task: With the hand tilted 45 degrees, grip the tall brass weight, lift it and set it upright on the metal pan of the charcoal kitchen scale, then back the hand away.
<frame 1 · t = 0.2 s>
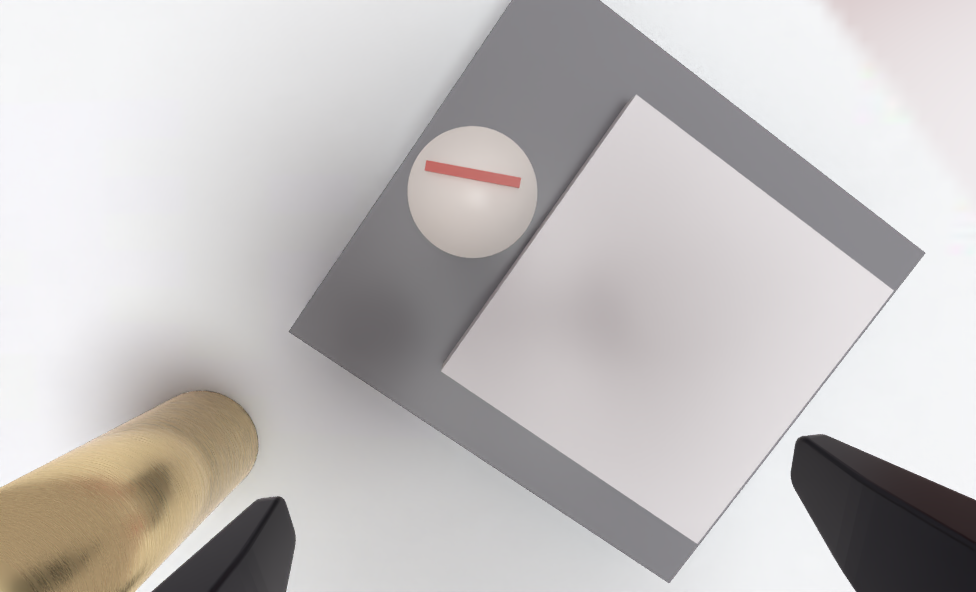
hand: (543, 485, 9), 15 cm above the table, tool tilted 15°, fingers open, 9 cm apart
brass weight: (203, 442, 24), on the table
scale: (593, 285, 24), on the table
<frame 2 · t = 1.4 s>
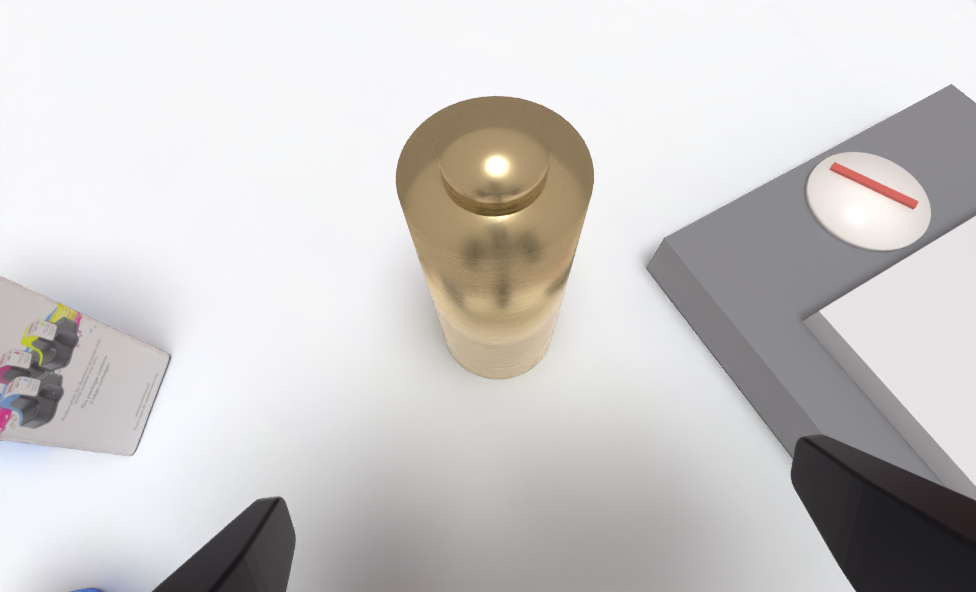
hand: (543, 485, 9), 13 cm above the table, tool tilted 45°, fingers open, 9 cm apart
brass weight: (498, 326, 24), on the table
ink box: (75, 393, 24), on the table
scale: (935, 349, 23), on the table
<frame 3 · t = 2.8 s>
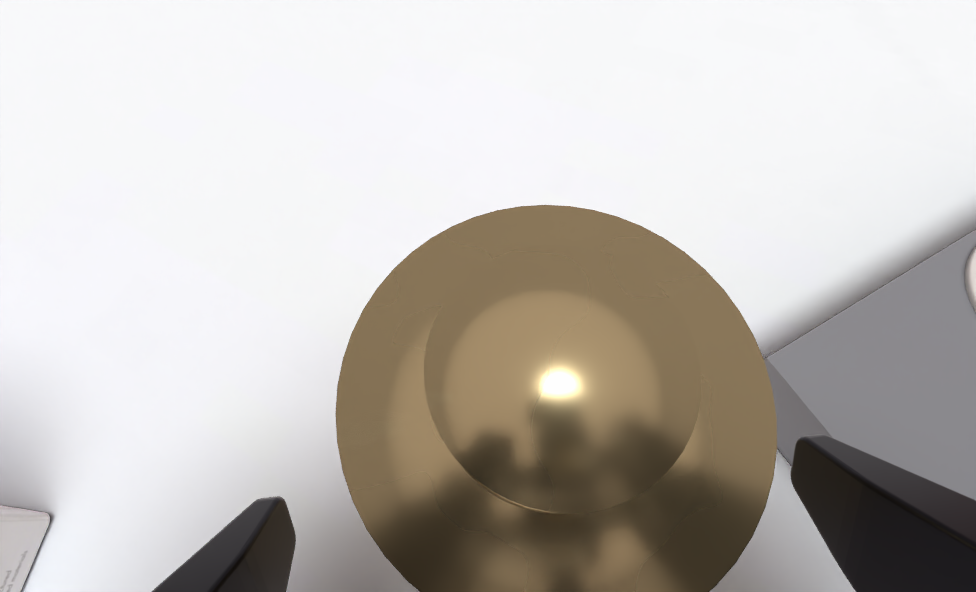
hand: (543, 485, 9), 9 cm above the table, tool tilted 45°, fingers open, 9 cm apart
brass weight: (520, 471, 17), on the table
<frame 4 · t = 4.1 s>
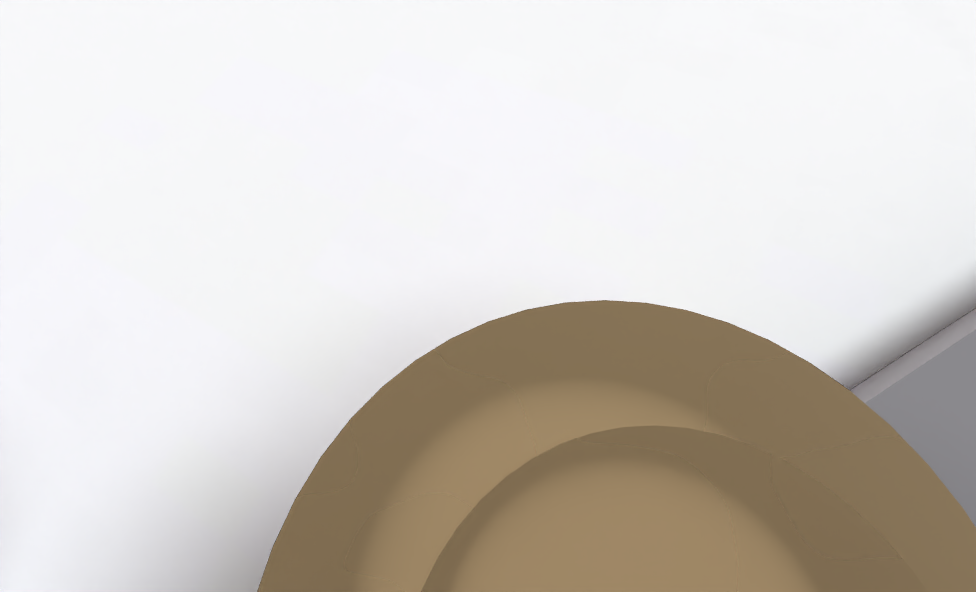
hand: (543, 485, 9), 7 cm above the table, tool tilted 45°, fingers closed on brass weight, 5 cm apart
brass weight: (533, 548, 14), on the table, touching gripper
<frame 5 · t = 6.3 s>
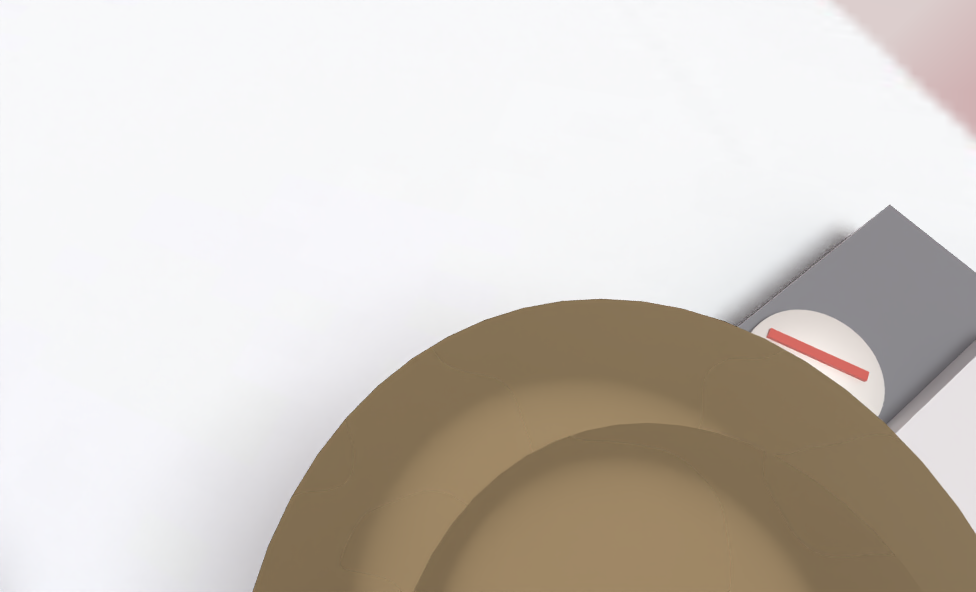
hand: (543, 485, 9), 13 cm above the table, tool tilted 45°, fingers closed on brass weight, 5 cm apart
brass weight: (532, 548, 14), point 7 cm above the table, touching gripper
scale: (906, 528, 20), on the table
when the fingers open (12 cm above the table, at t = 8.4 s): brass weight stays where it is, resting on scale.
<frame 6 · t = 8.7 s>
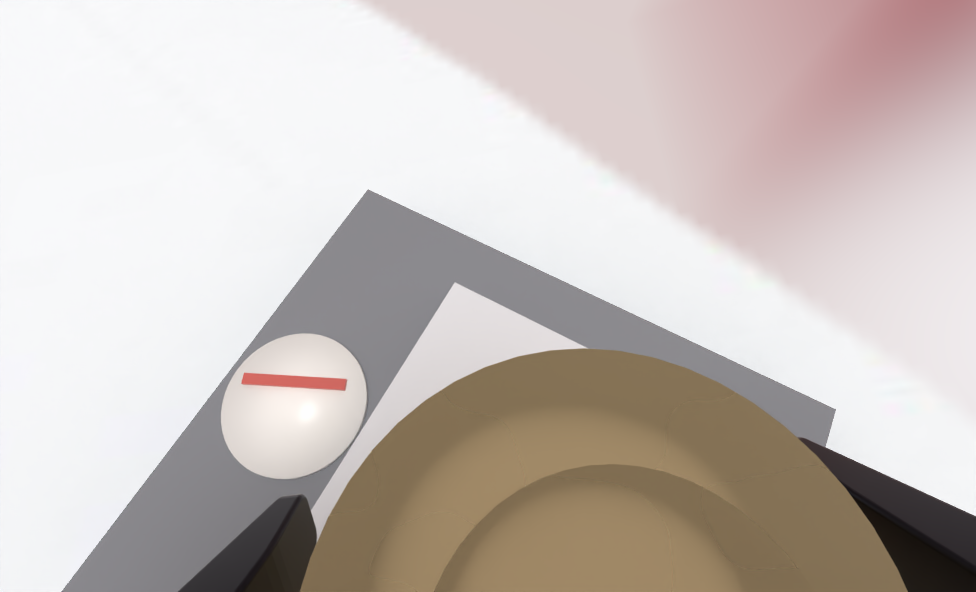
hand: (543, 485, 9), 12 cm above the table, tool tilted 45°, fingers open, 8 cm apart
brass weight: (532, 550, 15), point 4 cm above the table, touching scale
scale: (468, 504, 20), on the table
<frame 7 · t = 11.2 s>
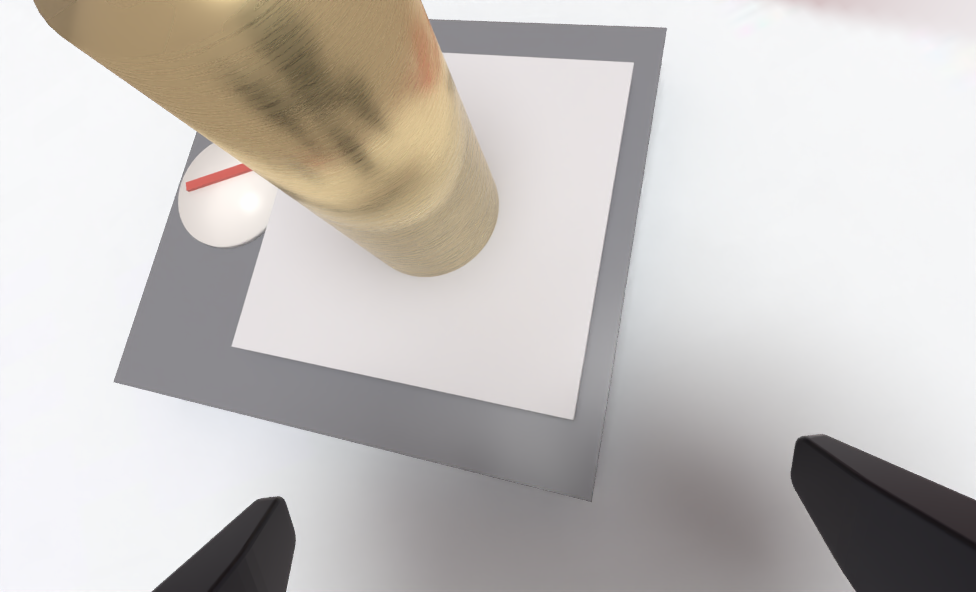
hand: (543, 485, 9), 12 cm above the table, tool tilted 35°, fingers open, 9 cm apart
brass weight: (430, 209, 19), point 4 cm above the table, touching scale
scale: (406, 235, 23), on the table
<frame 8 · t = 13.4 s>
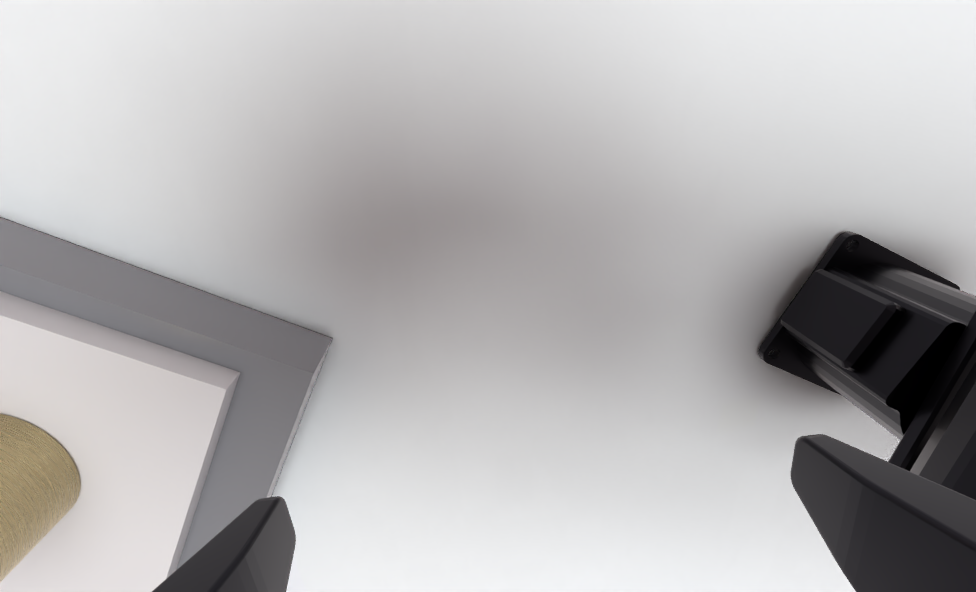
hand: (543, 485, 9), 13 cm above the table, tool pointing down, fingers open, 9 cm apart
brass weight: (3, 471, 18), point 4 cm above the table, touching scale
scale: (73, 449, 23), on the table
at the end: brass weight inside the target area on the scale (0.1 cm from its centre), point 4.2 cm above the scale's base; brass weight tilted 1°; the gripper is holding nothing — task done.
